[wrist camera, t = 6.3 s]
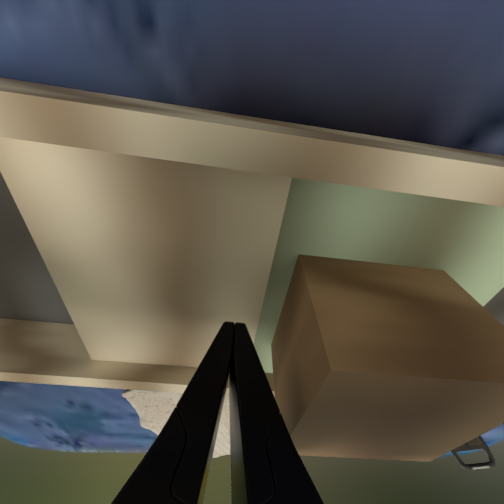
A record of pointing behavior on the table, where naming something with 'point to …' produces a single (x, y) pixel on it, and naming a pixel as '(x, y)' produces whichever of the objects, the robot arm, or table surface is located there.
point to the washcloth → (162, 405)
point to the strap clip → (472, 445)
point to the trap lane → (205, 228)
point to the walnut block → (384, 361)
